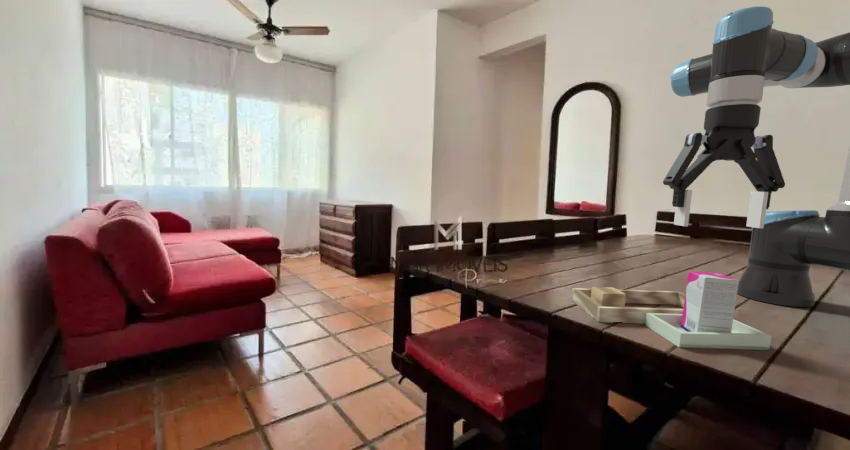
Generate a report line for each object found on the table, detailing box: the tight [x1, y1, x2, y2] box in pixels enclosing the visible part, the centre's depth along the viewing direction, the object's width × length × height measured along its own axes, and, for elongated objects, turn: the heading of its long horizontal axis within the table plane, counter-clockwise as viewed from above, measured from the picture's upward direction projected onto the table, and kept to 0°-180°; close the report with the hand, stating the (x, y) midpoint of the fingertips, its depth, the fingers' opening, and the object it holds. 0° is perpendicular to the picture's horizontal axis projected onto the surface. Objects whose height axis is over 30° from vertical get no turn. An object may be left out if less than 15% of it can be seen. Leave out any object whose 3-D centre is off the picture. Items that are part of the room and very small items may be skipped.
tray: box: [644, 313, 772, 351], centre depth 70 cm, size 16×10×3 cm, turn 90°
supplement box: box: [681, 270, 740, 333], centre depth 69 cm, size 6×6×12 cm
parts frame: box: [571, 287, 685, 324], centre depth 83 cm, size 26×14×3 cm, turn 90°
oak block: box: [590, 286, 626, 307], centre depth 82 cm, size 5×5×5 cm
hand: (717, 226), depth 67 cm, fingers open, 13 cm apart
